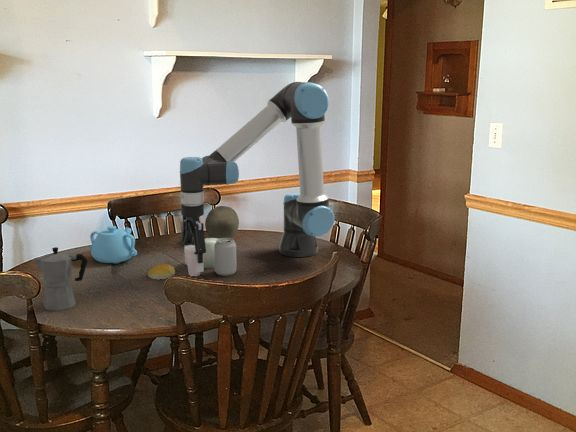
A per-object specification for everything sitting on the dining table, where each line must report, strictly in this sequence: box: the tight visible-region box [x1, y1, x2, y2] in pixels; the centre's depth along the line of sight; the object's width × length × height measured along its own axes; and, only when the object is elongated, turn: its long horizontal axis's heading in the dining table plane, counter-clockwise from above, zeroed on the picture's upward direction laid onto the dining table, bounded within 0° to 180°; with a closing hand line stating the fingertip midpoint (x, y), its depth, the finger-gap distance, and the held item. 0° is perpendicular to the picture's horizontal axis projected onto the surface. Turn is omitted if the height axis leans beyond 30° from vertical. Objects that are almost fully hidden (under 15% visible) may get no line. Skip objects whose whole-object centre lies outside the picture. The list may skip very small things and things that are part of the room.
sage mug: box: [203, 237, 218, 269], centre depth 226 cm, size 10×8×9 cm
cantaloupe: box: [204, 205, 240, 239], centre depth 254 cm, size 14×14×15 cm
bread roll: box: [147, 263, 176, 281], centre depth 214 cm, size 8×9×4 cm
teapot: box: [89, 225, 138, 265], centre depth 233 cm, size 20×20×13 cm
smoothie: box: [183, 244, 201, 277], centre depth 214 cm, size 6×6×14 cm
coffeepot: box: [32, 247, 89, 312], centre depth 186 cm, size 15×9×18 cm, turn 101°
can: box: [214, 238, 237, 277], centre depth 217 cm, size 8×8×12 cm
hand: (194, 267), depth 215 cm, fingers open, 10 cm apart
